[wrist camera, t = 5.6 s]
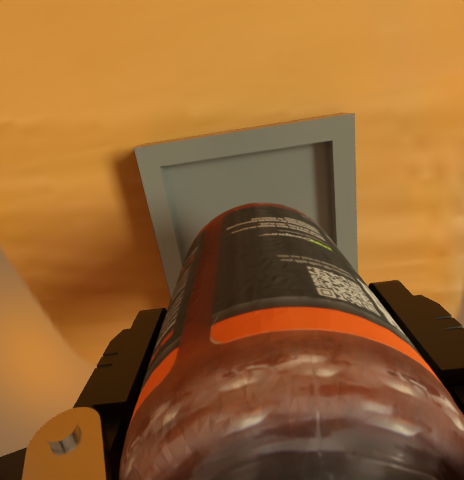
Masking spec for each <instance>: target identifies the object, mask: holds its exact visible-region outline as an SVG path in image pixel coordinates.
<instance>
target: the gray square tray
mask: <svg viewBox="0 0 464 480" xmlns="http://www.w3.org/2000/svg"><path fill="white" fill-rule="evenodd" d="M134 151H135V155H136V159H137V163H138V167H139V171H140V175H141V179H142V183H143V187H144V192H145V196H146V200H147V204H148V208H149V212H150V216H151V220H152V224H153V228H154V232H155V236H156V240H157V244H158V248H159V252H160V257H161V261H162V265H163V269H164V273H165V277H166V281H167V285H168V289H169V293H170V297H171V298H172V295H173V292H174V289H175V287H176V284H177V281H178V277H179V275H180V272H181V269H182V266H183V263H184V260H185V257H186V255H187V253H188V251H189V249H190V247H191V245H192V243H193V241H194V240H195V238H196V236H197V235H198V233H199V232H200V231H201V229H202V228H203V227H204V226H205V225H206V224H208V223H209V222H210V221H211V220H213V219H214V218H215V217H217V216H218V215H220V214H222V213H224V212H226V211H228V210H230V209H232V208H235V207H238V206H241V205H245V204H250V203H264V202H265V203H273V204H280V205H284V206H287V207H290V208H293V209H296V210H298V211H300V212H302V213H304V214H305V215H307V216H308V217H309V218H311V219H313V220H314V221H315V222H316V223H318V225H319V226H320V227H321V228H322V229H323V230H324V231H325V232H326V233H327V234H328V236H329V237H330V238H331V240H332V241H333V242H334V243H335V245H336V246H337V247H338V249H339V250H340V251H341V253H342V254H343V255H344V256H345V258H346V259H347V260H348V261H349V263H350V264H351V265H352V267H353V268H354V269H355V271H356V272H357V273H358V260H357V210H356V161H355V113H339V114H332V115H326V116H320V117H313V118H307V119H301V120H294V121H288V122H282V123H275V124H269V125H263V126H256V127H250V128H243V129H237V130H231V131H224V132H218V133H212V134H205V135H199V136H193V137H186V138H180V139H174V140H167V141H161V142H154V143H148V144H144V145H141V146H138V147H135V148H134Z"/></svg>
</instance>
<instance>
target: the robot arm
mask: <svg viewBox="0 0 464 480" xmlns="http://www.w3.org/2000/svg"><path fill="white" fill-rule="evenodd" d="M368 288H369V289H370V290H371V291H372V292H373V294H374V295H375V296H376V298H377V299H378V300H379V302H380V303H381V304H382V306H383V307H384V308H385V310H386V311H387V312H388V313H389V314H390V316H391V317H392V318H393V320H394V321H395V322H396V324H397V325H398V326H399V328H400V329H401V330H402V331H403V333H404V334H405V335H406V337H407V338H408V339H409V340H410V342H411V343H412V344H413V345H414V347H415V348H416V349H417V351H418V352H419V353H420V355H421V356H422V357H423V359H424V361H425V362H426V363H427V364H428V365H429V367H430V368H431V369H432V371H433V372H434V373H435V375H436V376H437V377H438V379H439V380H440V381H441V383H442V384H443V385H444V387H445V388H446V389H447V391H448V392H449V394H450V395H451V397H452V398H453V400H454V402H455V403H456V405H457V406H458V408H459V409H460V410H461V412H462V413H463V415H464V328H462V325H461V324H460V323H459V322H458V321H457V320H455V319H454V318H452V317H451V315H450V314H449V313H448V312H447V311H446V310H445V309H444V308H443V307H442V306H441V305H440V304H438V303H436V302H434V301H432V300H430V299H428V298H426V297H424V296H422V295H416V296H413V295H412V294H411V293H410V292H409V291H408V290H407V289H406V288H405V287H404V286H403V284H402V283H401V282H399V281H398V280H393V281H385V282H377V283H370V284H369V286H368ZM166 313H167V310H166V309H165V308H159V309H151V310H143V311H140V312H139V313H138V315H137V317H136V319H135V321H134V323H133V325H132V327H131V328H130V329H124V330H122V331H121V332H120V333H119V334H118V335H117V336H116V337H115V338H114V339H113V340H111V341H110V343H109V345H108V347H107V348H106V350H105V352H104V354H103V357H101V359H100V361H99V363H98V364H97V368H95V370H94V371H93V373H92V375H91V377H90V379H89V380H88V382H87V384H86V386H85V387H84V389H83V391H82V393H81V394H80V396H79V398H78V400H77V402H76V403H75V405H74V407H73V409H69V410H67V411H64V412H62V413H60V414H58V415H57V416H55V417H53V418H52V419H50V420H49V421H48V422H46V423H45V424H44V425H43V426H42V427H41V428H40V429H39V430H38V431H37V432H36V433H35V435H34V436H33V437H32V439H31V440H30V442H29V444H28V447H27V448H24V449H21V450H18V451H16V452H13V453H10V454H7V455H5V456H2V457H0V480H119V469H120V461H121V456H122V452H123V448H124V443H125V438H126V434H127V431H128V428H129V425H130V421H131V418H132V415H133V412H134V409H135V406H136V404H137V401H138V398H139V394H140V391H141V387H142V385H143V381H144V377H145V375H146V373H147V369H148V365H149V362H150V360H151V357H152V354H153V351H154V348H155V345H156V342H157V340H158V337H159V334H160V330H161V327H162V324H163V322H164V319H165V316H166Z"/></svg>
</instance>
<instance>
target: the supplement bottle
mask: <svg viewBox="0 0 464 480" xmlns="http://www.w3.org/2000/svg"><path fill="white" fill-rule="evenodd" d="M119 480H464V415H463V413H462V412H461V410H460V409H459V408H458V406H457V405H456V403H455V402H454V400H453V398H452V397H451V395H450V394H449V392H448V391H447V389H446V388H445V387H444V385H443V384H442V383H441V381H440V380H439V379H438V377H437V376H436V375H435V373H434V372H433V371H432V369H431V368H430V367H429V365H428V364H427V363H426V362H425V361H424V359H423V357H422V356H421V355H420V353H419V352H418V351H417V349H416V348H415V347H414V345H413V344H412V343H411V342H410V340H409V339H408V338H407V337H406V335H405V334H404V333H403V331H402V330H401V329H400V328H399V326H398V325H397V324H396V322H395V321H394V320H393V318H392V317H391V316H390V314H389V313H388V312H387V311H386V310H385V308H384V307H383V306H382V304H381V303H380V302H379V300H378V299H377V298H376V296H375V295H374V294H373V292H372V291H371V290H370V289H369V288H368V286H367V285H366V283H365V282H364V281H363V280H362V278H361V277H360V276H359V275H358V273H357V272H356V271H355V269H354V268H353V267H352V265H351V264H350V263H349V261H348V260H347V259H346V258H345V256H344V255H343V254H342V253H341V251H340V250H339V249H338V247H337V246H336V245H335V243H334V242H333V241H332V240H331V238H330V237H329V236H328V234H327V233H326V232H325V231H324V230H323V229H322V228H321V227H320V226H319V225H318V223H316V222H315V221H314V220H313V219H311V218H309V217H308V216H307V215H305V214H304V213H302V212H300V211H298V210H296V209H293V208H290V207H287V206H284V205H280V204H273V203H265V202H264V203H250V204H245V205H241V206H238V207H235V208H232V209H230V210H228V211H226V212H224V213H222V214H220V215H218V216H217V217H215V218H214V219H213V220H211V221H210V222H209V223H208V224H206V225H205V226H204V227H203V228H202V229H201V231H200V232H199V233H198V235H197V236H196V238H195V240H194V241H193V243H192V245H191V247H190V249H189V251H188V253H187V255H186V257H185V260H184V263H183V266H182V269H181V272H180V275H179V277H178V281H177V284H176V287H175V289H174V292H173V295H172V298H171V301H170V304H169V307H168V310H167V313H166V316H165V319H164V322H163V324H162V327H161V330H160V334H159V337H158V340H157V342H156V345H155V348H154V351H153V354H152V357H151V360H150V362H149V365H148V369H147V373H146V375H145V377H144V381H143V385H142V387H141V391H140V394H139V398H138V401H137V404H136V406H135V409H134V412H133V415H132V418H131V421H130V425H129V428H128V431H127V434H126V438H125V443H124V448H123V452H122V456H121V461H120V469H119Z"/></svg>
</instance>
